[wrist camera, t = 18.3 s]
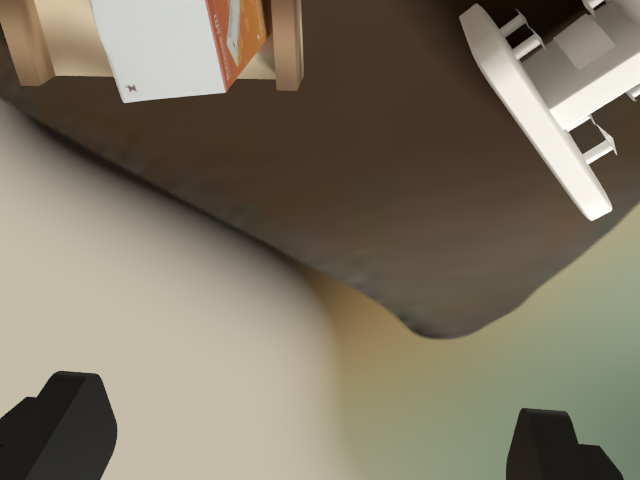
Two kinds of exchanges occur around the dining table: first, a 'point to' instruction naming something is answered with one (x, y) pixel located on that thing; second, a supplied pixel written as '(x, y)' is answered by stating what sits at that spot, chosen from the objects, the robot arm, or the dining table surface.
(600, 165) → the dining table surface
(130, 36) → the small box
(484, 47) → the cable organizer
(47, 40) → the slot rack
